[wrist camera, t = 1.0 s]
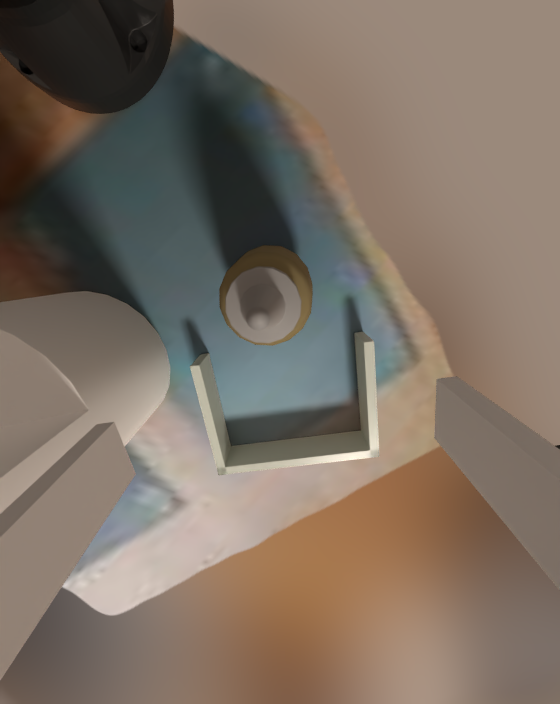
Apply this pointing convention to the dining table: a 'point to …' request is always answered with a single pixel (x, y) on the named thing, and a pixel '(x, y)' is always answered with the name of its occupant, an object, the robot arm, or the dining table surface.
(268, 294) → the squeeze bottle
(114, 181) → the dining table surface
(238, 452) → the cream u-shaped frame
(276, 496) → the dining table surface
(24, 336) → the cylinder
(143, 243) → the dining table surface
